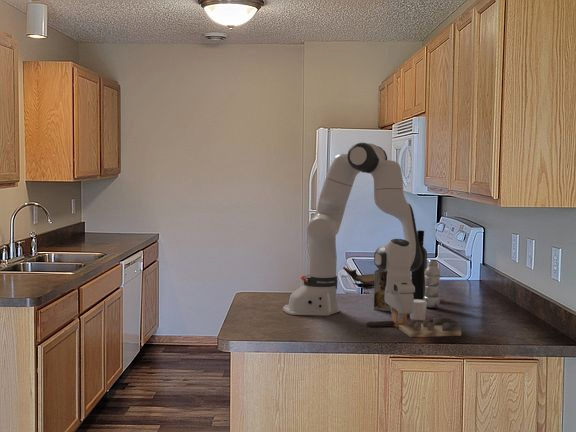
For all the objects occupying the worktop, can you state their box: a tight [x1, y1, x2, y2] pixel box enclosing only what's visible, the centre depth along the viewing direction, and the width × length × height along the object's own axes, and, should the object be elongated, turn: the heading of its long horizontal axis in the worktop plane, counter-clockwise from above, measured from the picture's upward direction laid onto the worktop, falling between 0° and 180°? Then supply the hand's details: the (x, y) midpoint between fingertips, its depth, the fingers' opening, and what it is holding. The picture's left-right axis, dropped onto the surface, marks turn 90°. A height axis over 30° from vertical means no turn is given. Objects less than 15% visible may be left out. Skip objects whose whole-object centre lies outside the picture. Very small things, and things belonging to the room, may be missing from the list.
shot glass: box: [409, 299, 427, 321], centre depth 261 cm, size 7×7×7 cm
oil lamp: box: [343, 266, 375, 288], centre depth 327 cm, size 22×30×8 cm
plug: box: [365, 311, 408, 328], centre depth 249 cm, size 15×4×5 cm, turn 101°
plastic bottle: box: [422, 259, 441, 309], centre depth 280 cm, size 6×7×20 cm
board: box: [398, 317, 462, 338], centre depth 241 cm, size 20×11×4 cm, turn 101°
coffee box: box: [373, 269, 391, 312], centre depth 275 cm, size 9×6×16 cm
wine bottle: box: [411, 229, 428, 300], centre depth 299 cm, size 6×6×30 cm
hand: (397, 320), depth 249 cm, fingers closed on plug, 4 cm apart
